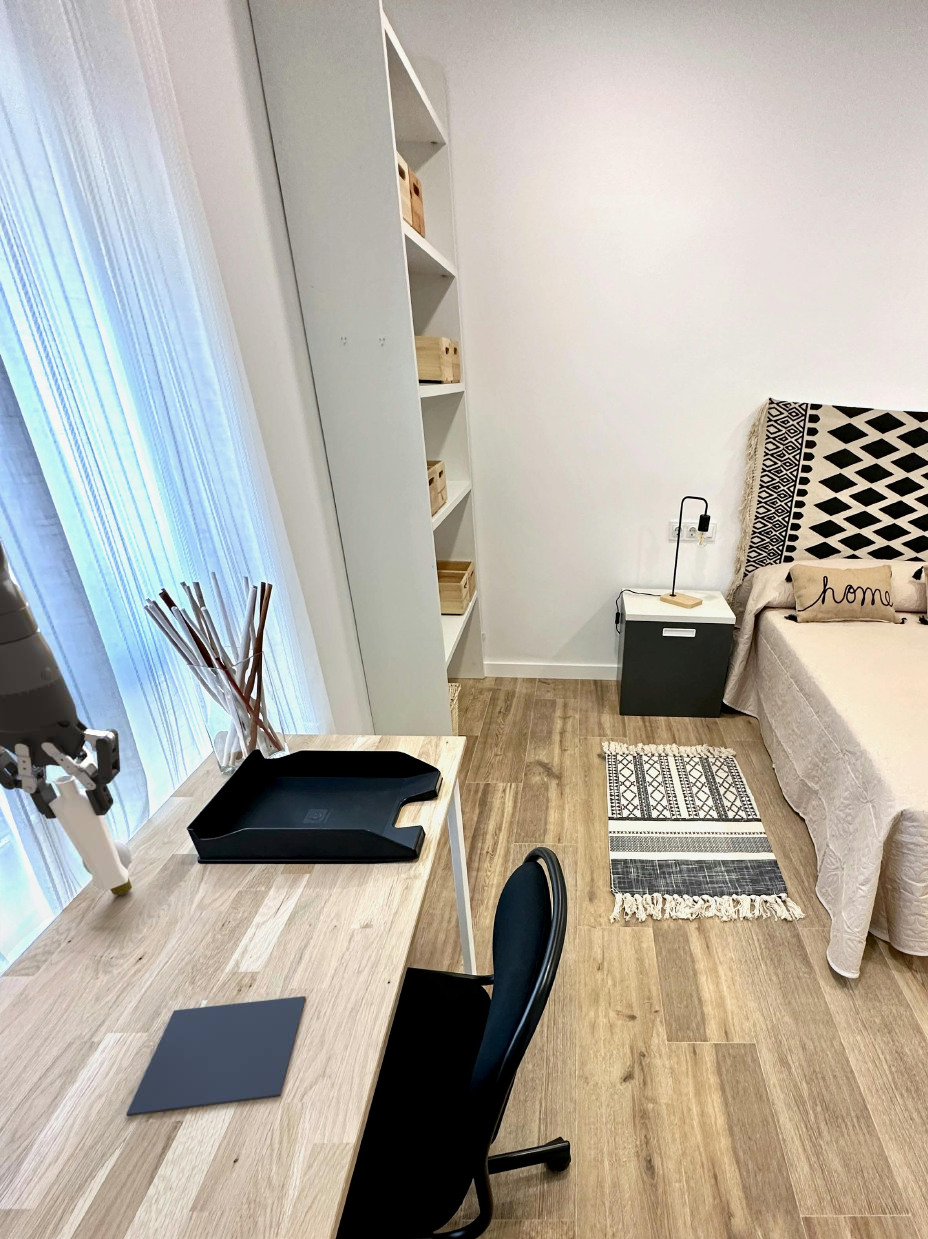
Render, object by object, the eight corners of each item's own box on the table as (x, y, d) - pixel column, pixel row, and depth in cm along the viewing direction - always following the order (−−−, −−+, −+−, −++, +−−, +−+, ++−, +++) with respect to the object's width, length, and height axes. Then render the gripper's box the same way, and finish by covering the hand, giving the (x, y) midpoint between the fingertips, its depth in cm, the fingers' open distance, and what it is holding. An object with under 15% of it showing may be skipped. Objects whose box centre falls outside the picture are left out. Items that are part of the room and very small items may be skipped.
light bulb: (92, 901, 100) (65, 849, 95) (126, 877, 105) (103, 827, 100) (121, 910, 99) (95, 858, 93) (154, 886, 103) (132, 835, 98)
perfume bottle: (91, 875, 83) (41, 774, 75) (132, 865, 84) (87, 765, 76) (87, 897, 79) (34, 793, 71) (129, 886, 81) (82, 784, 73)
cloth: (127, 1116, 72) (125, 1114, 72) (174, 1012, 83) (173, 1010, 83) (280, 1096, 74) (279, 1094, 74) (306, 998, 86) (305, 995, 86)
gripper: (108, 661, 71) (158, 792, 81) (-40, 666, 69) (29, 800, 78) (74, 689, 65) (133, 827, 74) (-90, 695, 63) (-9, 837, 72)
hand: (79, 812), depth 76 cm, fingers closed on perfume bottle, 4 cm apart
